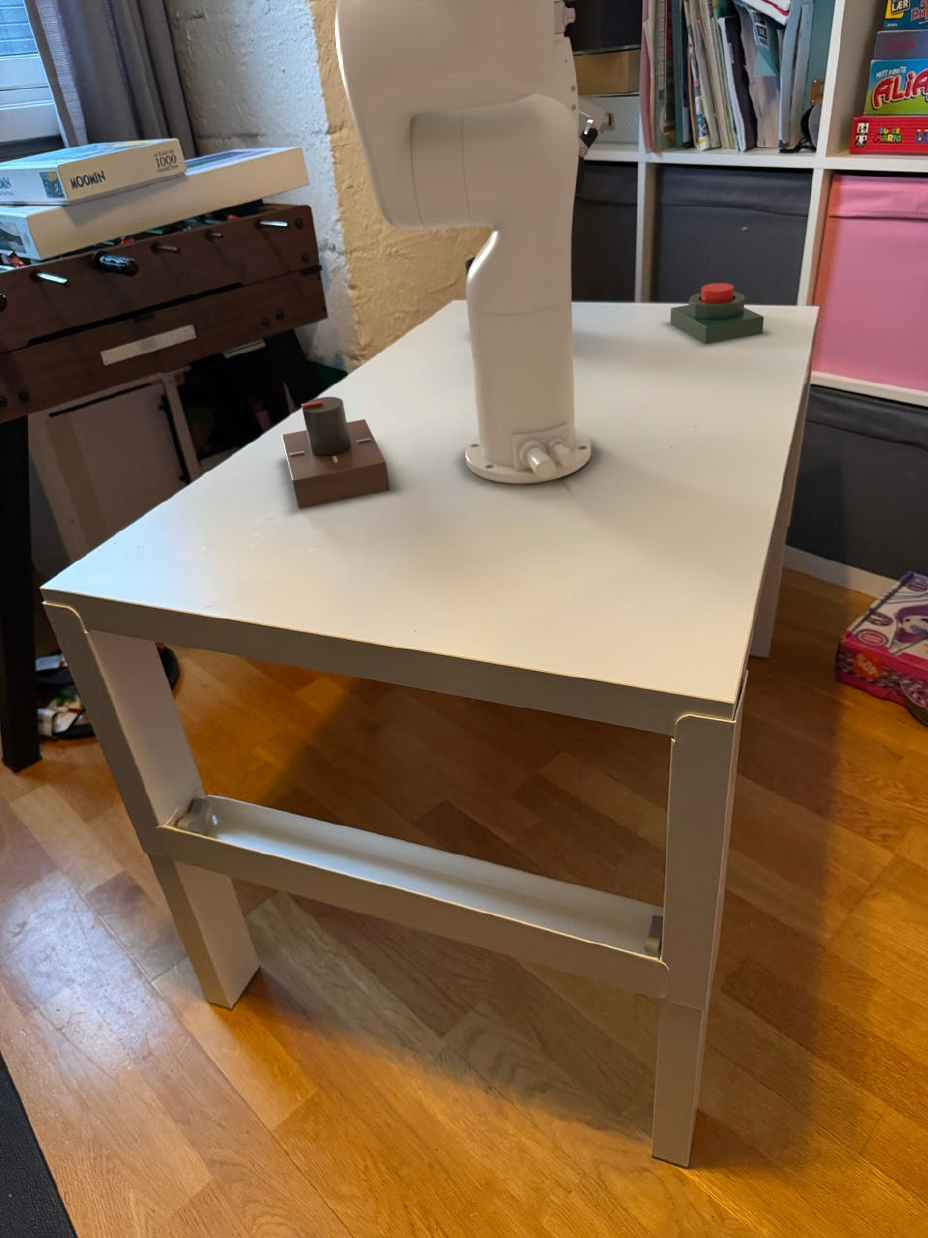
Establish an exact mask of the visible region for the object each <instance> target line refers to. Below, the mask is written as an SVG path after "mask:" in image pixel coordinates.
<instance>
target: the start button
mask: <svg viewBox="0 0 928 1238" xmlns="http://www.w3.org/2000/svg"><path fill="white" fill-rule="evenodd" d="M734 290H735V286H734V285H733V284H730V283H727V282H725V283H724V282H716V283H715V282H714V283H708V284H705V285H703V286H701V291H700V293H701V301H702V302H706V303H725V302H730V301H732V300H733V292H735V291H734Z"/></svg>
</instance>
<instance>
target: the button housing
mask: <svg viewBox="0 0 928 1238" xmlns="http://www.w3.org/2000/svg"><path fill="white" fill-rule="evenodd" d="M745 300H746V296H745V294H742V293H740V292H738V291H734V292H733V300H732V301H730V302H725V303H706V302H702V301H701V292H697V293H695V294H693V295H691V296H690V297H689V300H688V304H686V305H679V306H675V307H671V308H670V325H671V326H673V327H674V328H677V329H678V330H680V331H682V332H683V333H685V334H686V335H688V336H690V337H692V338H694V339H696V340H697V341H700V342H701V343H703V345H708V344H714V343H719V342H725V341H729V340H735V339H741V338H747V337H751V336H756V335H760V334H761V335H763V329H764V319H765V317H764V316H763V315H762V314H759V313H757V312H755V311H753V310H751V309H748V308H746V307H745V302H746V301H745Z"/></svg>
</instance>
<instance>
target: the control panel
mask: <svg viewBox="0 0 928 1238" xmlns="http://www.w3.org/2000/svg"><path fill="white" fill-rule="evenodd" d="M347 427H348V433H349V438H350V444H351V445H350V447H349V448H348V449H347V450H345V451H343V452H341V453H338V454H334V455H325V456H323V455H316V454H314V453H312V452H311V448H310V444H309V439H308V434H307V429H304V430H300V431H295V432H290V433H285V434H281V435H280V437H281V441H282V445H283V450H284V454H285V458H286V463H287V467H288V471H289V475H290V479H291V484H292V488H293V491H294V495H295V496H294V497H295V500H296V503H297V508H298V509H299V510H300V509H304V508H310V507H315V506H319V505H324V504H329V503H333V502H339V501H343V500H348V499H352V498H357V497H362V496H368V495H373V494H377V493H382V492H386V491H387V492H388V491H391V487H390V481H389V475H388V474H389V473H388V467H387V462H386V460H385V458H384V456H383V453H382V452H381V449H380V447H379V445H378V444H377V441H376V440H375V439H376V438H375V436H374V435H373V433H372V430H371V429H370V426H369V425H368V423H367V420H366V419H365V418H363V419H358V420H353V421H348V422H347Z"/></svg>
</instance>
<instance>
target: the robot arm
mask: <svg viewBox="0 0 928 1238" xmlns="http://www.w3.org/2000/svg"><path fill="white" fill-rule="evenodd" d="M575 20H576V10H575V8H574V7H570V8H568V7H567V6H566V3H565V1H563V0H337V1H336V7H335V24H334V25H335V27H334V28H335V43H336V52H337V58H338V64H339V69H340V70H339V71H340V74H341V79H342V83H343V87H344V92H345V95H346V98H347V102H348V106H349V109H350V113H351V116H352V120H353V123H354V124H353V125H354V128H355V131H356V134H357V138H358V142H359V145H360V149H361V152H362V157H363V159H364V163H365V167H366V170H367V175H368V178H369V182H370V185H371V188H372V192H373V193H374V194H373V195H374V198H375V201H376V204H377V207H378V209H379V210H380V212H381V215H382V216H383V218H384V219H385V220H386V222H388V224H389V225H391V226H392V227H394V228H396V229H398V230H402V231H403V230H404V231H432V230H446V229H458V228H471V227H472V228H473V227H474V228H488V229H490V230H491V233H490V236H489V237H488V239H487V240H486V241H485V243H484V244H483V245H482V247H481V248H480V250H479V251H478V253H477V254H476V255H475V256H474V257H475V259H474V261H473V262H472V265H471V267H470V269H469V272H468V276H467V275H466V282H465V298H466V307H467V308H466V309H467V318H468V330H469V341H470V352H471V362H472V374H473V382H474V383H473V385H474V395H475V406H476V407H475V408H476V415H477V416H476V417H477V428H478V436H476V437H474V439H473V440H471V441H470V442H469V444H468V445H467V446H466V448H465V452H464V454H465V463H466V465H467V468H468V469H469V470H470V471H471V472H472V473H474V475H475V474H476V475H477V476H479V477H481V478H484V479H486V480H490V481H494V482H497V483H506V484H535V483H542V482H549V481H552V480H556V479H560V478H563V477H565V476H568V475H571V474H572V473H574V472H577V471H578V470H580V469H581V468H582V467H584V466H585V465H586V464H587V463H588V462H589V460H590V458H591V456H592V443H591V440H590V438H589V436H588V435H586V434H585V433H584V432H583V431H581V430H579V429H577V428H576V425H575V423H576V422H575V421H576V420H575V419H576V418H575V417H576V416H575V386H574V385H575V383H574V345H573V344H574V343H573V341H574V339H573V306H572V305H573V304H572V230H573V217H574V203H575V196H576V197H577V196H582V195H583V194H582V193H583V186H584V185H585V157H586V156H587V155H588V153H589V149H590V148H591V146H592V145H593V144H594V143H595V141H596V140H597V138H598V136H599V131H600V129H601V127H602V124H603V121H604V119H605V116H606V110H605V109H604V108H602V107H601V106H598V105H597V104H594V103H592V102H590V101H588V100H586V99H584V98H582V97H580V96H579V91H578V82H577V72H576V67H575V61H574V55H573V49H572V44H571V39H570V37H569V36H565V33H564V32H566V26H567V25H568V24H571V23H572V24H573V23H574V22H575ZM580 114H582V115H583V116H586V117H587V122H586V127H585V128H584V129H583V130H582V132H581V133H580V134H579V128H580Z"/></svg>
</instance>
